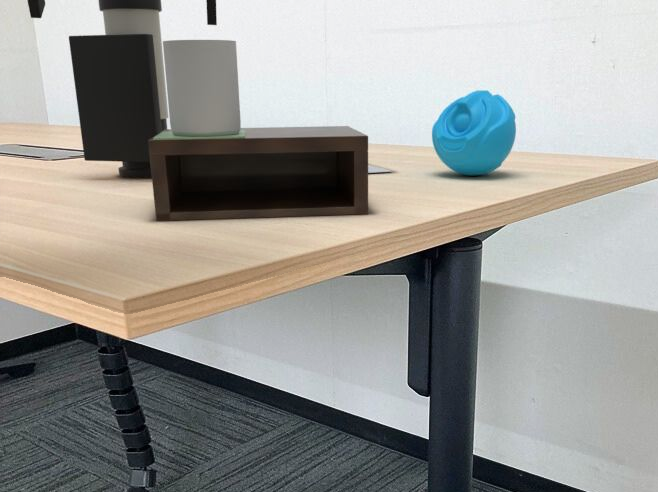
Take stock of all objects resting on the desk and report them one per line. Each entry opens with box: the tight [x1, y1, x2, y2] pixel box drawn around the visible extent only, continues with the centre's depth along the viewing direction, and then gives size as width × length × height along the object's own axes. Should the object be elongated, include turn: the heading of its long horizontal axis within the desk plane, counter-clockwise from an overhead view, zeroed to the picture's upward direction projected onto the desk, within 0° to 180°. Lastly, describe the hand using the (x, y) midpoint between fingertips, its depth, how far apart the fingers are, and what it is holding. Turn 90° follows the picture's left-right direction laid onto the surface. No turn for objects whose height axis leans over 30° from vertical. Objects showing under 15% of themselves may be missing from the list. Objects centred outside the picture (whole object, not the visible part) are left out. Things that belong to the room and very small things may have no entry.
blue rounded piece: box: [431, 89, 517, 177], centre depth 106 cm, size 12×11×12 cm
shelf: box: [148, 125, 369, 222], centre depth 84 cm, size 22×16×8 cm
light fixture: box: [68, 0, 169, 179], centre depth 107 cm, size 12×11×25 cm
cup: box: [162, 39, 242, 136], centre depth 77 cm, size 7×10×9 cm
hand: (126, 15), depth 61 cm, fingers open, 13 cm apart
